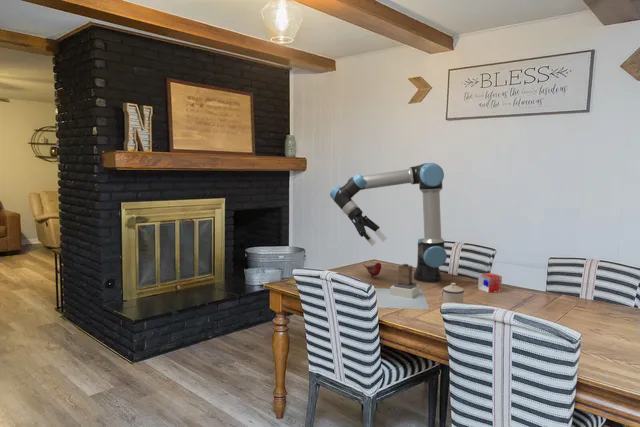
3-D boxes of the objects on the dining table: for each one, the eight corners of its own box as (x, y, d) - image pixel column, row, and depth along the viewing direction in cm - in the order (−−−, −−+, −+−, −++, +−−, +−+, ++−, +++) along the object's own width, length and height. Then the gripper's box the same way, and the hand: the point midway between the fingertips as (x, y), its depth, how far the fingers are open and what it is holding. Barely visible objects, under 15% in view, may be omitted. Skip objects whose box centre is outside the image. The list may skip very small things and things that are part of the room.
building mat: (421, 291, 237) (421, 289, 237) (429, 311, 205) (429, 309, 205) (373, 289, 240) (374, 288, 239) (374, 308, 208) (374, 307, 208)
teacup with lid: (467, 310, 207) (468, 284, 205) (451, 313, 203) (452, 286, 202) (449, 303, 218) (450, 278, 216) (433, 305, 214) (434, 280, 213)
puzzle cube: (501, 291, 238) (501, 276, 237) (488, 292, 235) (489, 277, 234) (490, 287, 245) (491, 272, 245) (478, 288, 243) (478, 273, 242)
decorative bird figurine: (379, 281, 256) (379, 263, 255) (360, 274, 271) (360, 257, 270) (383, 280, 258) (383, 263, 256) (364, 274, 273) (365, 257, 272)
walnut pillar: (402, 284, 232) (402, 262, 231) (411, 285, 229) (412, 264, 228) (398, 286, 228) (398, 264, 227) (408, 287, 225) (408, 265, 224)
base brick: (398, 289, 237) (398, 279, 236) (419, 293, 231) (419, 282, 230) (390, 295, 227) (390, 284, 227) (411, 298, 222) (412, 287, 221)
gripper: (358, 213, 255) (384, 242, 249) (336, 218, 234) (364, 250, 228) (367, 204, 252) (393, 233, 246) (346, 208, 231) (374, 240, 225)
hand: (379, 242), depth 237 cm, fingers open, 13 cm apart
